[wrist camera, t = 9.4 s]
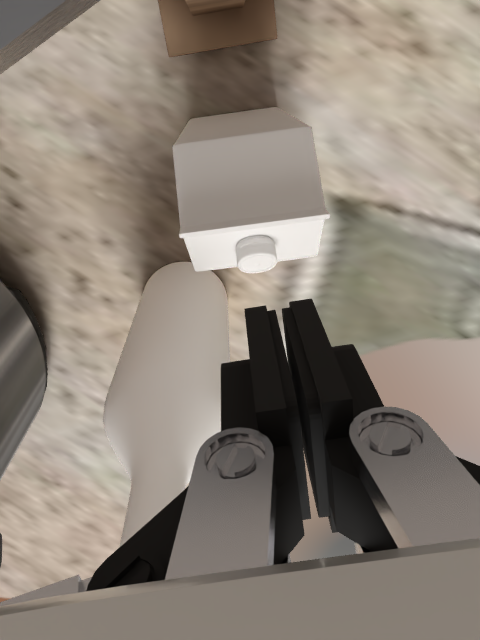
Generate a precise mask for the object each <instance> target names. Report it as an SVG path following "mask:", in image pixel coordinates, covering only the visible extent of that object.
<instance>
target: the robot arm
mask: <svg viewBox="0 0 480 640" xmlns="http://www.w3.org/2000/svg"><path fill="white" fill-rule="evenodd" d="M289 305H290V308H284V309H282V316H283V324H284V332H285V341H286V349H287V357H288V361H287V357H286V353H285V349H284V345H283V340H282V336H281V332H280V328H279V323H278V319H277V315H276V311H275V310H271V311H267V309H266V306H260V307H253V308H247V309H245V318H246V327H247V337H248V346H249V356H250V359H248V360H241V361H235V362H228V363H221V432H218V433H216V434H215V435H213V436H212V437H210V438H209V439H207V440H206V441H205V442H204V444H203V445H202V446H201V447H200V449H199V451H198V453H197V455H196V459H195V463H194V467H193V471H192V475H191V479H190V483H189V486H188V487H187V488H186V489H185V490H184V491H182V492H181V493H180V494H179V495H178V496H177V497H176V498H175V499H173V500H172V501H171V502H170V503H169V504H168V505H167V506H166V507H165V508H163V509H162V510H161V511H160V512H159V513H158V514H157V515H156V516H154V517H153V518H152V519H151V520H150V521H149V522H148V523H147V524H145V525H144V526H143V527H142V528H141V529H140V530H139V531H138V532H136V533H135V534H134V535H133V536H132V537H131V538H130V539H129V540H127V541H126V542H125V543H124V544H123V545H122V546H121V547H120V548H118V549H117V550H116V551H115V552H114V553H113V554H112V555H111V556H109V557H108V558H107V559H106V560H105V561H104V562H103V563H102V565H101V566H100V567H99V568H98V569H97V570H96V571H95V573H94V575H93V577H91V578H88V579H85V580H81V578H80V576H79V575H76V576H74V577H71V578H68V579H65V580H62V581H59V582H57V583H54V584H51V585H48V586H45V587H43V588H40V589H37V590H34V591H31V592H28V593H26V594H23V595H20V596H17V597H14V598H11V599H9V600H6V601H3V602H0V640H480V466H478V465H476V464H473V463H471V462H468V461H466V460H463V459H461V458H459V457H456V456H455V455H454V454H453V453H452V452H451V451H450V450H449V448H448V447H447V446H446V445H445V444H444V442H443V441H442V440H441V439H440V438H439V437H438V435H437V434H436V433H435V432H434V431H433V429H432V428H431V427H430V426H429V425H428V424H427V423H426V422H425V421H424V420H423V419H422V418H421V417H420V416H418V415H416V414H414V413H412V412H410V411H408V410H404V409H400V408H396V407H384V405H383V404H382V401H381V399H380V397H379V395H378V393H377V391H376V389H375V387H374V385H373V383H372V381H371V379H370V377H369V375H368V373H367V371H366V369H365V367H364V365H363V363H362V361H361V359H360V357H359V355H358V352H357V350H356V348H355V347H354V345H352V344H349V345H342V346H335V347H331V345H330V342H329V340H328V337H327V335H326V332H325V330H324V327H323V325H322V323H321V320H320V318H319V315H318V313H317V310H316V308H315V305H314V303H313V301H312V299H306V300H299V301H293V302H290V303H289ZM288 365H289V366H288ZM303 450H304V452H303ZM304 454H305V458H306V463H307V467H308V471H309V476H310V481H311V485H312V489H313V494H314V499H315V503H316V508H317V511H318V516H319V517H327V516H328V517H329V521H330V526H331V530H332V533H334V532H339V533H341V534H343V535H344V536H346V537H348V538H349V539H351V540H353V541H354V544H355V550H356V553H357V554H353V555H345V556H338V557H330V558H322V559H315V560H308V561H300V562H293V563H291V560H290V554H289V553H290V552H291V551H292V550H293V549H294V547H295V546H296V545H297V544H298V542H299V541H300V540H301V539H302V537H303V536H304V528H303V521H302V520H305V519H311V514H310V506H309V496H308V487H307V479H306V471H305V461H304Z"/></svg>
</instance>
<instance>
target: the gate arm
mask: <svg viewBox="0 0 480 640" xmlns="http://www.w3.org/2000/svg"><path fill="white" fill-rule="evenodd" d="M99 1H100V0H0V74H1V73H3V72H4V71H5V70H7V69H8V68H9V67H11V66H12V65H13V64H15V63H16V62H18V61H19V60H20V59H22V58H23V57H24V56H26V55H27V54H28V53H30V52H31V51H32V50H34V49H35V48H36V47H38V46H39V45H41V44H42V43H43V42H45V41H46V40H47V39H49V38H50V37H51V36H53V35H54V34H55V33H57V32H58V31H59V30H61V29H62V28H64V27H65V26H66V25H68V24H69V23H70V22H72V21H73V20H74V19H76V18H77V17H78V16H80V15H81V14H82V13H84V12H85V11H86V10H88V9H89V8H91V7H92V6H93V5H95V4H96V3H97V2H99Z"/></svg>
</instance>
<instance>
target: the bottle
mask: <svg viewBox="0 0 480 640" xmlns="http://www.w3.org/2000/svg"><path fill="white" fill-rule="evenodd" d="M228 362H230V348H229V321H228V299H227V294H226V290H225V287H224V285H223V283H222V282H221V280H220V279H219V277H218V276H217V275H216V274H214V273H213V272H212V271H211V270H208V271H195V269H194V267H193V264H192V262H176V263H171V264H168V265H166V266H163V267H162V268H160V269H159V270H157V271H156V272H155V273H154V274H153V275H152V276H151V277H150V279H149V280H148V282H147V283H146V285H145V288H144V291H143V293H142V296H141V299H140V302H139V305H138V308H137V311H136V313H135V316H134V319H133V322H132V325H131V328H130V331H129V334H128V336H127V339H126V342H125V345H124V348H123V351H122V354H121V357H120V359H119V362H118V365H117V368H116V371H115V374H114V377H113V379H112V382H111V385H110V388H109V391H108V394H107V397H106V401H105V406H104V417H103V422H104V429H105V433H106V436H107V438H108V441H109V443H110V445H111V447H112V449H113V451H114V453H115V454H116V456H117V458H118V459H119V461H120V463H121V464H122V466H123V467H124V469H125V471H126V472H127V474H128V475H129V477H130V479H131V491H130V497H129V502H128V508H127V513H126V518H125V523H124V528H123V533H122V538H121V543H120V547H121V546H122V545H123V544H124V543H125V542H126V541H127V540H129V539H130V538H131V537H132V536H133V535H134V534H135V533H136V532H138V531H139V530H140V529H141V528H142V527H143V526H144V525H145V524H147V523H148V522H149V521H150V520H151V519H152V518H153V517H154V516H156V515H157V514H158V513H159V512H160V511H161V510H162V509H163V508H165V507H166V506H167V505H168V504H169V503H170V502H171V501H172V500H173V499H175V498H176V497H177V496H178V495H179V494H180V493H181V492H182V491H184V489H185V486H186V485H187V484H188V483H189V482H190V479H191V475H192V471H193V467H194V463H195V459H196V455H197V453H198V451H199V449H200V447H201V446H202V445H203V444H204V442H205V441H206V440H207V439H209V438H210V437H212V436H213V435H215V434H216V433H218V432H221V363H228ZM120 547H119V548H120Z"/></svg>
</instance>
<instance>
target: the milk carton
mask: <svg viewBox="0 0 480 640" xmlns="http://www.w3.org/2000/svg"><path fill="white" fill-rule="evenodd" d="M172 148H173V158H174V168H175V178H176V189H177V199H178V209H179V219H180V232H179V237H180V238H184V241H185V244H186V247H187V249H188V252H189V255H190V258H191V261H192V264H193V267H194V269H195V271H208V270H217V269H225V268H232V267H238V268H239V269H240V270H241V271H242V272H245V273H260V272H265V271H268V270H270V269H272V268H273V267H274V266H275V265H276V263H277V262H278V261H286V260H293V259H300V258H307V257H313V256H317V255H318V250H319V245H320V240H321V234H322V229H323V224H324V219H328V218H330V214H329V212H328V211H327V210H326V208H325V202H324V196H323V191H322V185H321V179H320V173H319V167H318V162H317V156H316V150H315V144H314V139H313V133H312V127H311V126H308V125H307V124H305V123H303V122H302V121H300V120H298V119H297V118H295V117H293V116H291V115H290V114H288V113H286V112H285V111H283V110H281V109H280V108H278V107H271V108H263V109H256V110H249V111H242V112H235V113H227V114H220V115H213V116H206V117H199V118H193V119H190V120H189V121H188V123H187V124H186V126H185V128H184V129H183V131H182V132H181V134H180V136H179V137H178V139H177V140H176V142H175V144H174V145H173V146H172Z"/></svg>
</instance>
